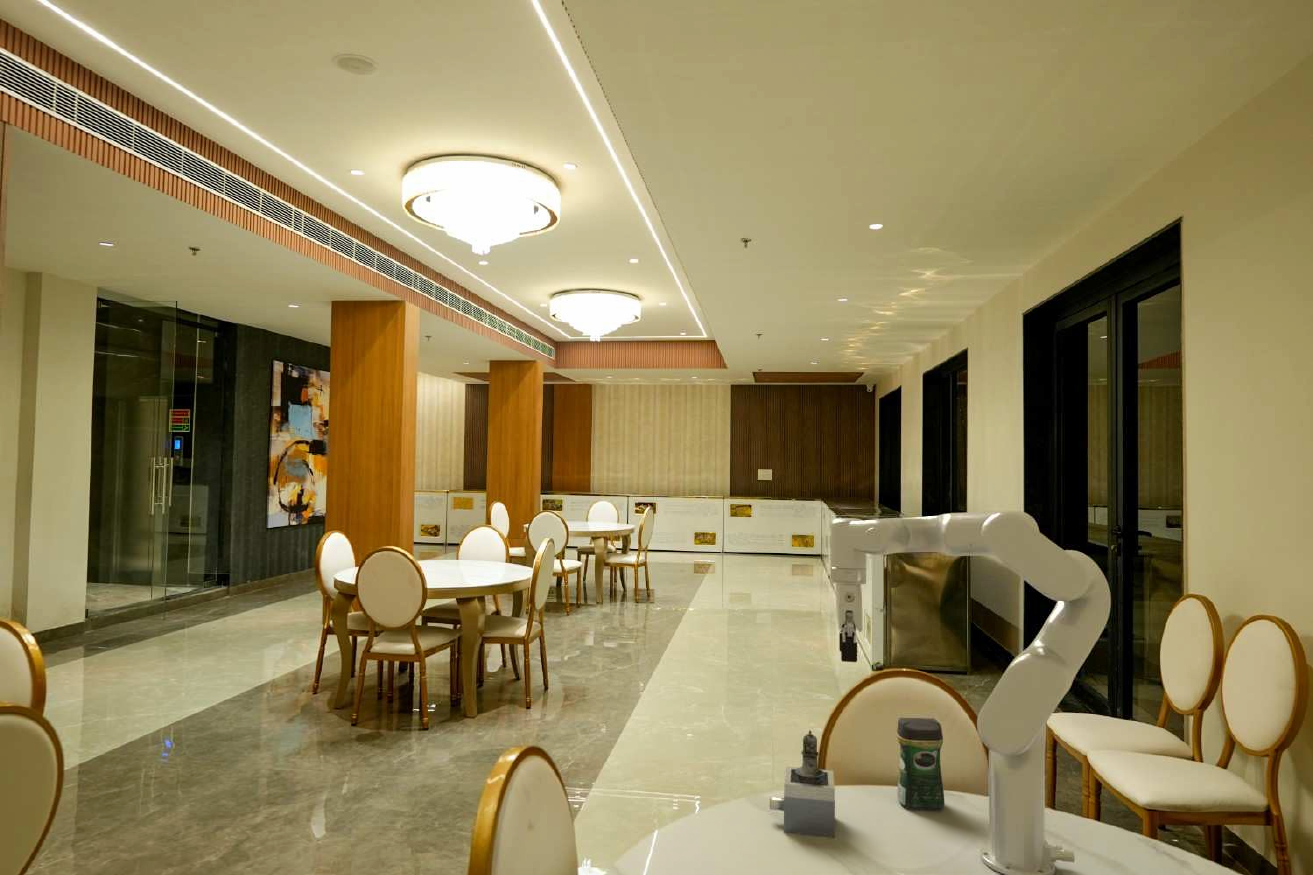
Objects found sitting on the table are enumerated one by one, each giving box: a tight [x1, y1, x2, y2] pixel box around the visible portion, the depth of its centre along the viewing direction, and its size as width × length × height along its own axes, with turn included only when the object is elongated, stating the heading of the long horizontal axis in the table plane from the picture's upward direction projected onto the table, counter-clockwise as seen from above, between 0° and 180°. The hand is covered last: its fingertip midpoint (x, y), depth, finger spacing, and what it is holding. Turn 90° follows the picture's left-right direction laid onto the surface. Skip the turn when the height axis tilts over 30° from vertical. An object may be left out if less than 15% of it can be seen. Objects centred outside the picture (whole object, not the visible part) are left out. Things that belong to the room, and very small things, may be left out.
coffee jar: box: [896, 717, 945, 811], centre depth 171 cm, size 10×8×19 cm
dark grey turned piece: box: [796, 730, 825, 785], centre depth 160 cm, size 6×6×12 cm
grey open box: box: [769, 766, 836, 839], centre depth 161 cm, size 13×12×10 cm
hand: (848, 656), depth 165 cm, fingers open, 9 cm apart
